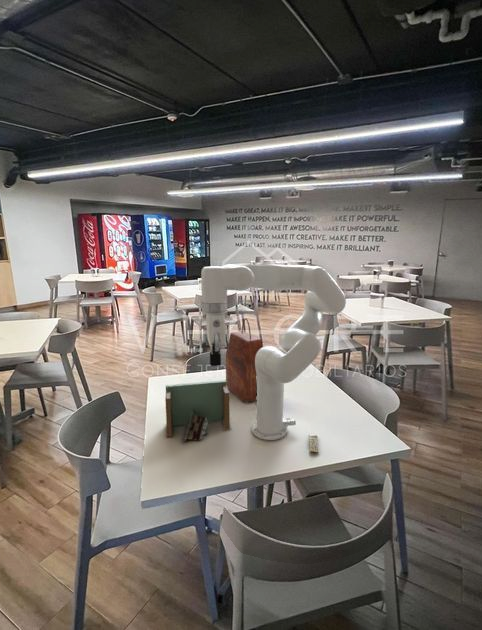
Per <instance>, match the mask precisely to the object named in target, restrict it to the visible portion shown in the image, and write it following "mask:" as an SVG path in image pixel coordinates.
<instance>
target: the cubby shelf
mask: <svg viewBox="0 0 482 630" xmlns="http://www.w3.org/2000/svg"><path fill="white" fill-rule="evenodd" d="M164 399H165V401H164V402H165V421H166V437H167V438H171V437H173V427H177V426H186V425H188V422H189V419H190V416H191V413H192V412H193V413H194V415H198V416H203V417H206V418H207V421H208V423H211V422H219V421H220V422H221V421H222V424H223V427H224V430H225V431H230V429H231V428H230V426H231V425H230V424H231V423H230V421H231V420H230V419H231V418H230V416H231V414H230V408H231V407H230V406H231V405H230V390H229V389H228V388H227V385H226V379H224V380H223V379H222V380H221V379H220V380H210V381H201V382H200V381H199V382H187V383H176V384H165V396H164ZM192 409H193V410H192Z"/></svg>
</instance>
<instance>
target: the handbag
mask: <svg viewBox="0 0 482 630" xmlns="http://www.w3.org/2000/svg"><path fill="white" fill-rule="evenodd" d="M245 321H246V322H247V326H248V327H247V328H248V332H247V331H244V325H245ZM262 347H264V344H263V340H262V338H259V337H257V336H254V335H253V334H251V326H250V322H249V319H248V318H245V317H244V319H243V321H242V324H241V331H234V332H231V333H230V334H229V339H228V343H227V348H226V351H225V380H226V385H227V388H228V390H229V391H230V392H231V393H233V394H234V395H235V396H236V397H237V398H239V399H240V400H241V401H242V402H243V403H251V402H255V401H257V400H256V376H257V374H256V368H255V357H256V354H257V352H258V351H259V350H260V349H261V348H262Z"/></svg>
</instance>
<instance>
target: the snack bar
mask: <svg viewBox="0 0 482 630" xmlns="http://www.w3.org/2000/svg"><path fill="white" fill-rule="evenodd" d="M308 438H309V439H308V441H309V452H313V453H315V454H319V452H320V451H319V448H318V447H319V446H318V435H316V434H315V435H310V434H308Z"/></svg>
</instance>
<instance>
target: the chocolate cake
mask: <svg viewBox="0 0 482 630" xmlns="http://www.w3.org/2000/svg"><path fill="white" fill-rule="evenodd" d="M192 410H193V409H192ZM208 424H209V422H208V421H207V418H206V417H203V416H198V415H194V413H193V412H192V413H191V416H190V419H189V422H188V424H187V426H186V430H185V434H184V439H183V442H187V441H188V440H192V441H200V440H202V438H203V436H206V435H207V432H206V430H207V428H208Z"/></svg>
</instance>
